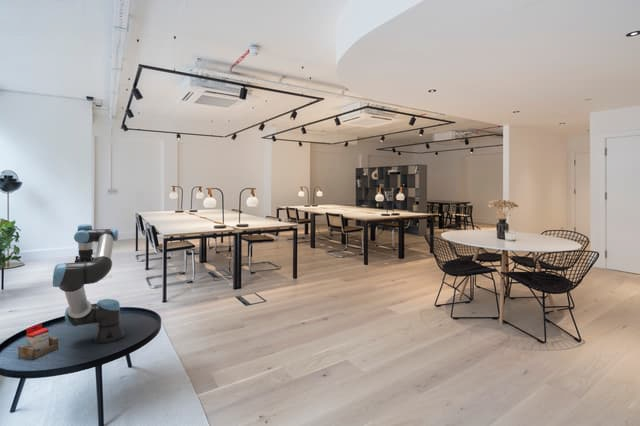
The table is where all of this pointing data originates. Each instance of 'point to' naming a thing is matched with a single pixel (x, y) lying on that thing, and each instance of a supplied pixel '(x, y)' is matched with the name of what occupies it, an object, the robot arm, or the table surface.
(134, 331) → the table surface
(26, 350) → the wooden crate
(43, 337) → the red white carton
